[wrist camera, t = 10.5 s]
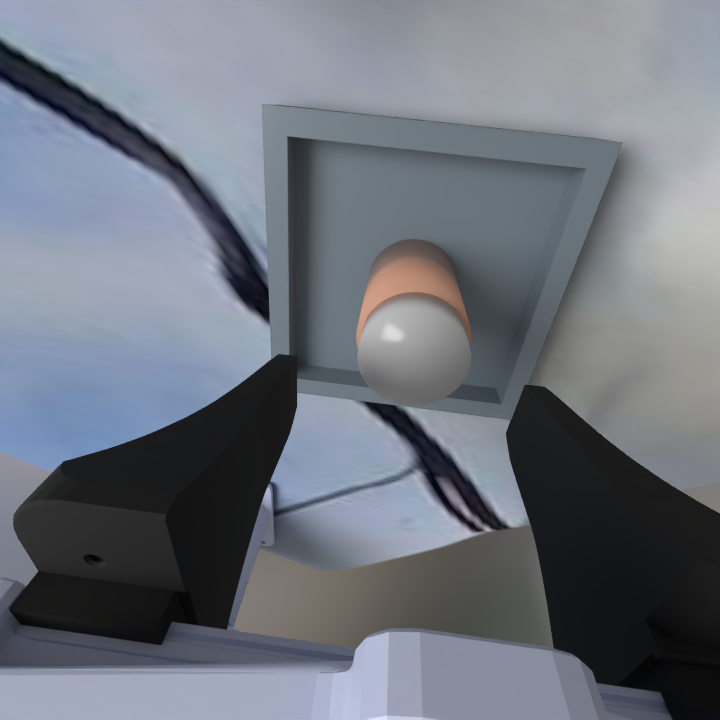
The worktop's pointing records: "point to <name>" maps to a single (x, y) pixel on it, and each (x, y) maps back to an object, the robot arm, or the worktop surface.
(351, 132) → the tray
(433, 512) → the worktop surface
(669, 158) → the worktop surface
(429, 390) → the shaker
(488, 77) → the worktop surface
